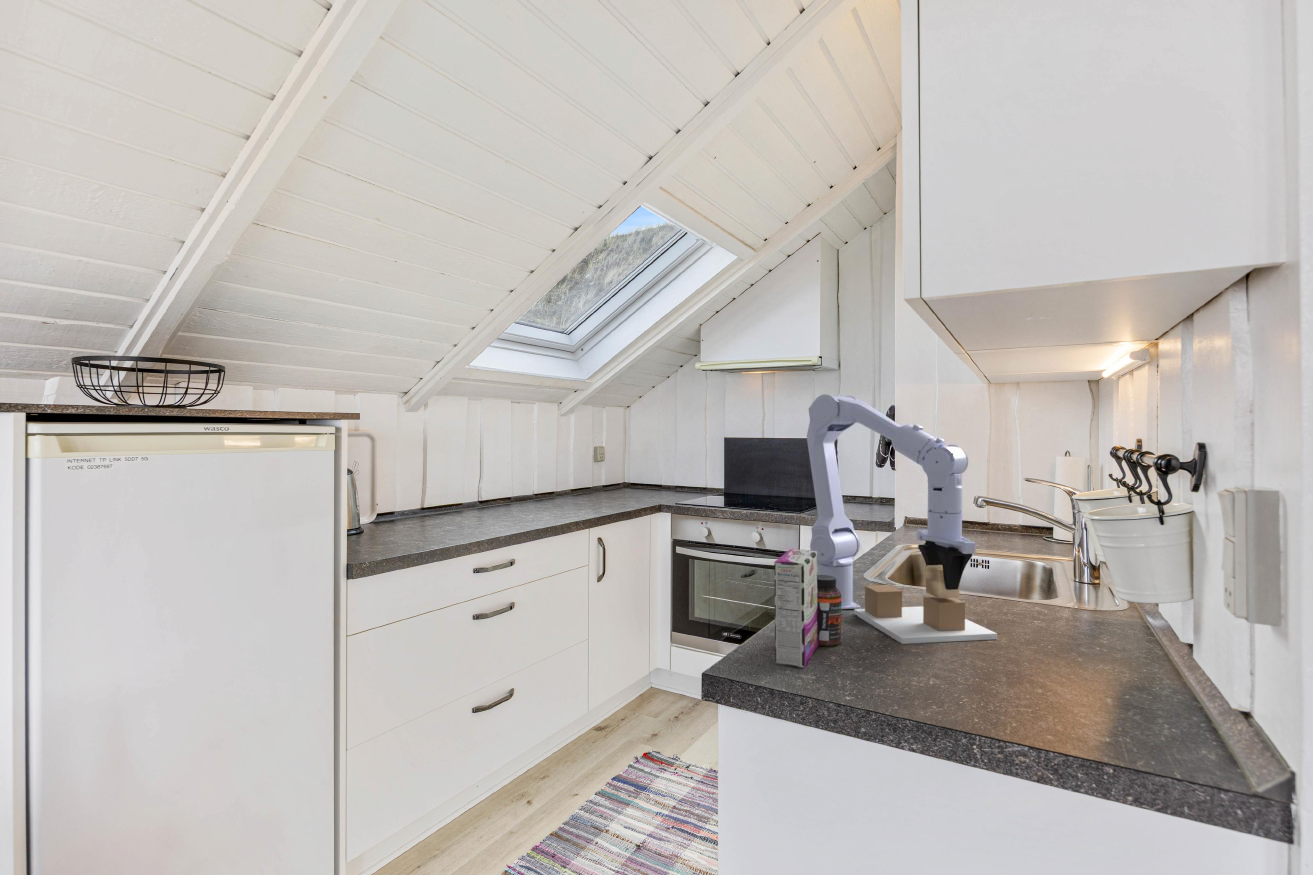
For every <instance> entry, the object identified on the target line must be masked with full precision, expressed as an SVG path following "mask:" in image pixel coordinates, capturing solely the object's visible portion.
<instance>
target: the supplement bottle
mask: <svg viewBox="0 0 1313 875" xmlns="http://www.w3.org/2000/svg"><path fill="white" fill-rule="evenodd" d="M841 603H842V601H841V592H840V591H839V590H838V589H837V588H836V578H835V577H833V576H829V575H817V606H818V608H817V614H818V646H821V647H834V646H837V645H839V644H840V643H841V640H842V609H841Z"/></svg>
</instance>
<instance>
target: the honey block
mask: <svg viewBox="0 0 1313 875" xmlns="http://www.w3.org/2000/svg"><path fill="white" fill-rule="evenodd" d="M925 593H926V594H928V595H929V596H935V597H937V598H960V586H959V587H958V589H956V590H947V589H946V588H945V583H944V574H943V567H942V565H927V566H926V565H925Z"/></svg>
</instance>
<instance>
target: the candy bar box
mask: <svg viewBox="0 0 1313 875" xmlns="http://www.w3.org/2000/svg"><path fill="white" fill-rule="evenodd" d="M773 568H774V646H775V647H774V652H775V654H774V655H775V656H774V660H775V661H774V662H775V664H777V665H781V666H787V667H793V668H800V669H805V668H806V666H807V665H808V663H809V661H810V660H811V659H812V657H813V655H814V653H815V652H816V650H817V649H818V646H819V645H818V614H817V608H818V606H817V551H811V550H810V549H809V550H807V549H798V548H795V549H794V548H793V549H792V548H791V549H789V550H787V552H785V553H783V555H781V556H780V557H779V558H777V559H776V560H775V561H774V567H773Z"/></svg>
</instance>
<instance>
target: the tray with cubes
mask: <svg viewBox="0 0 1313 875" xmlns="http://www.w3.org/2000/svg"><path fill="white" fill-rule="evenodd" d="M853 610H854V612H853V613H854V615H855V616H856V615H857V616H856V617H858V618H860V619H862V620H863V621H864V622H866V623H867V624H869V625H871V626H872V627H874V628H876V629H878V630H879V631H881V633H884V634H885V635H887V636H888V637H890V638H892V639H894V640H896V642H899V643H900V644H901V645H905V644H907V645H908V644H928V643H943V642H944V643H948V642H964V641H965V642H967V641H969V642H970V641H985V640H987V641H988V640H998V633H997V632H995V631H993V630H991V629H988V628H986V627H984V626H982V625H980V624H977V623H975V622H973V621H971V620H969V619H967V618H966V602H965V601H963V600H960V599H958V598H957V597H953V598H937V597H935V596H933V595H923V604H922V606H903V591H902V590H900V589H898V588H896V587H894V586H892V585H889V584H882V585H881V584H877V585H876V584H875V585H864V608H858V609H853Z"/></svg>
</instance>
